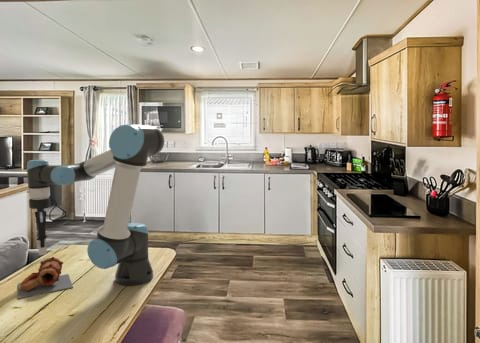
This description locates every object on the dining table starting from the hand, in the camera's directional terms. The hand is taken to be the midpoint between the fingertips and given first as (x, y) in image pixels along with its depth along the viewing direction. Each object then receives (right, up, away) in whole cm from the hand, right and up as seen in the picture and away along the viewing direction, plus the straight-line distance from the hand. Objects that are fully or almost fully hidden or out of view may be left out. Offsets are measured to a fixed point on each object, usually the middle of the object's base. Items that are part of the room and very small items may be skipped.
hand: (42, 254), depth 145 cm
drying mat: (+5, -11, -6) cm, 14 cm away
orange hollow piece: (0, -6, +2) cm, 6 cm away
